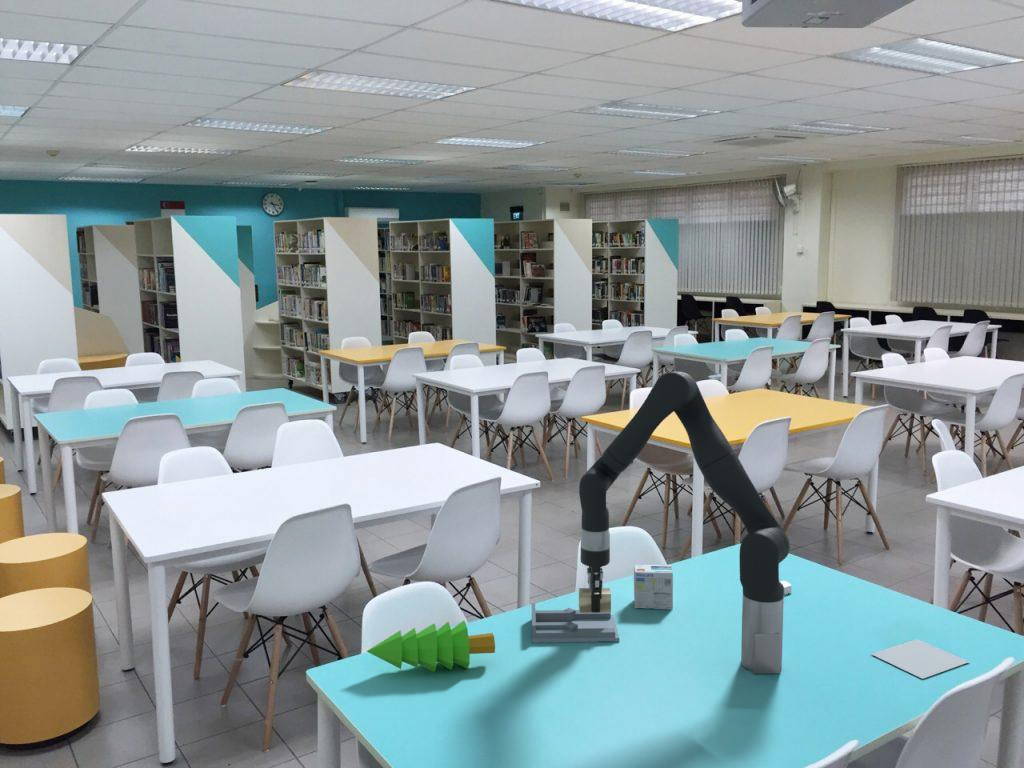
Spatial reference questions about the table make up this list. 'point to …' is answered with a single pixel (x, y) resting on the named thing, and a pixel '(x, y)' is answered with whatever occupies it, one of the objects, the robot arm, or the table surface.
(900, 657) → the paper stack
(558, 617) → the slot board
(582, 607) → the birch block
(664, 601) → the light bulb box
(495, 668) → the table surface
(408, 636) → the decorative tree
